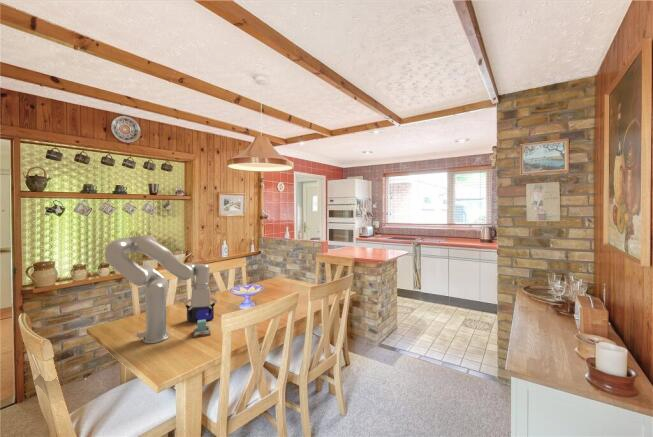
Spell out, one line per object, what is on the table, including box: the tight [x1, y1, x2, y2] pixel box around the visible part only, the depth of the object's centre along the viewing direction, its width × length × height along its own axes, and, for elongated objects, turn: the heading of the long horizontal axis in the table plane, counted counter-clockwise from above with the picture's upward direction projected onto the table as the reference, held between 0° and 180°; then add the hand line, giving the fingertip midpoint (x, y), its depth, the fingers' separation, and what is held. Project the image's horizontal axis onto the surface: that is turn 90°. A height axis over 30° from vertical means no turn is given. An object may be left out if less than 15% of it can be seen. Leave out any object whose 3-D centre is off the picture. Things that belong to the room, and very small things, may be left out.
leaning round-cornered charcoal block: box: [186, 306, 215, 323], centre depth 184 cm, size 16×5×9 cm, turn 98°
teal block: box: [197, 319, 207, 332], centre depth 166 cm, size 4×4×6 cm
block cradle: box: [192, 324, 211, 338], centre depth 166 cm, size 9×9×2 cm
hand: (200, 315), depth 165 cm, fingers open, 9 cm apart
